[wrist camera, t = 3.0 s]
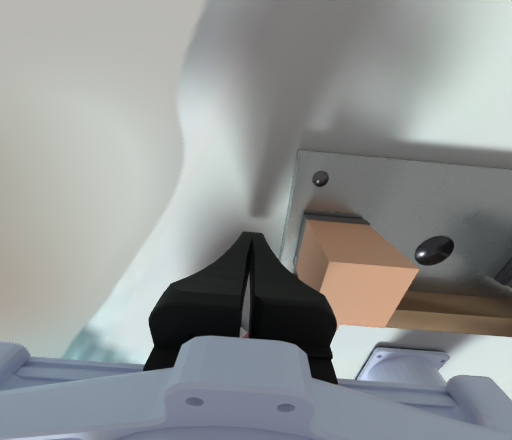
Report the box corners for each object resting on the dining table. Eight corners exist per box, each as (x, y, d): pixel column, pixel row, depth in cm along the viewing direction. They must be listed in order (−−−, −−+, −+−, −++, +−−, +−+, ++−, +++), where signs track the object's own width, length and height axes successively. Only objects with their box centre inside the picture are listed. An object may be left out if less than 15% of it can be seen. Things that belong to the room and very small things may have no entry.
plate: (507, 307, 17) (522, 317, 16) (274, 288, 17) (274, 298, 16) (631, 180, 12) (663, 184, 11) (297, 149, 12) (301, 151, 11)
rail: (510, 316, 16) (541, 339, 14) (286, 298, 16) (289, 319, 14) (526, 300, 15) (561, 322, 14) (289, 281, 15) (293, 301, 13)
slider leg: (336, 295, 16) (366, 359, 11) (286, 291, 15) (297, 354, 11) (365, 219, 12) (422, 267, 8) (303, 213, 12) (327, 259, 8)
